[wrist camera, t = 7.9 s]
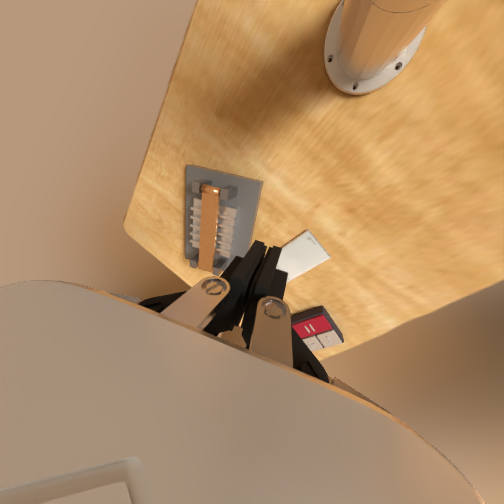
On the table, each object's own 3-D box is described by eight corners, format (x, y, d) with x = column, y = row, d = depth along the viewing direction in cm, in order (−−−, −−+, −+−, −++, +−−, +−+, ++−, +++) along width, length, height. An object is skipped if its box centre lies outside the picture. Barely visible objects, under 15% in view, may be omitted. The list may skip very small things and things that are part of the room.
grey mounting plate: (191, 164, 42) (186, 164, 40) (263, 181, 39) (260, 182, 37) (189, 255, 53) (185, 258, 51) (244, 273, 50) (242, 277, 49)
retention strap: (205, 183, 37) (201, 184, 36) (222, 187, 36) (218, 188, 35) (200, 265, 46) (197, 268, 45) (213, 270, 46) (210, 273, 44)
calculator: (345, 345, 47) (293, 358, 54) (342, 331, 51) (294, 345, 57) (324, 313, 45) (272, 331, 51) (322, 302, 49) (274, 320, 55)
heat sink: (200, 177, 40) (186, 179, 36) (243, 188, 39) (234, 191, 34) (196, 255, 50) (185, 265, 45) (231, 266, 48) (223, 277, 44)
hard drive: (308, 230, 40) (265, 260, 46) (331, 258, 41) (286, 283, 47) (308, 228, 41) (267, 257, 47) (330, 255, 42) (287, 280, 48)
